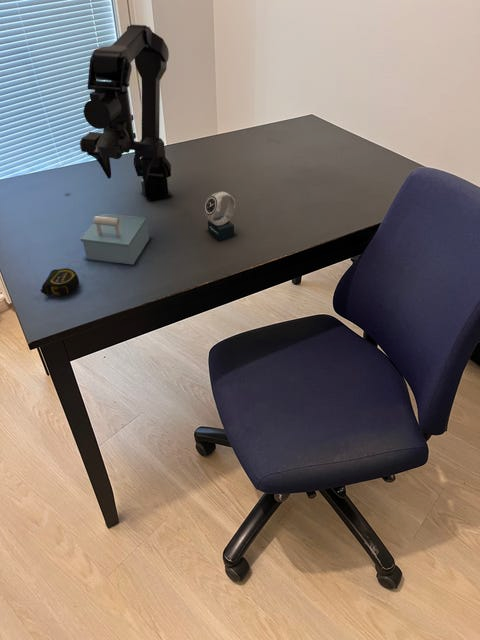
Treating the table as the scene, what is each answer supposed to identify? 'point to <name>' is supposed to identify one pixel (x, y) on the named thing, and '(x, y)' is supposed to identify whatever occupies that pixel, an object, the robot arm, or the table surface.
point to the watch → (220, 224)
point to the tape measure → (60, 282)
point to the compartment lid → (114, 229)
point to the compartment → (118, 249)
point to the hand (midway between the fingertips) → (127, 179)
